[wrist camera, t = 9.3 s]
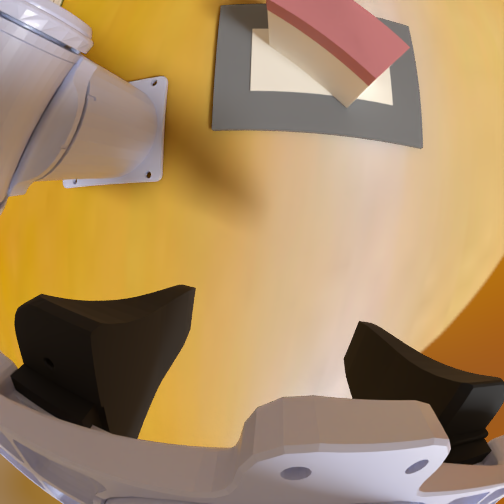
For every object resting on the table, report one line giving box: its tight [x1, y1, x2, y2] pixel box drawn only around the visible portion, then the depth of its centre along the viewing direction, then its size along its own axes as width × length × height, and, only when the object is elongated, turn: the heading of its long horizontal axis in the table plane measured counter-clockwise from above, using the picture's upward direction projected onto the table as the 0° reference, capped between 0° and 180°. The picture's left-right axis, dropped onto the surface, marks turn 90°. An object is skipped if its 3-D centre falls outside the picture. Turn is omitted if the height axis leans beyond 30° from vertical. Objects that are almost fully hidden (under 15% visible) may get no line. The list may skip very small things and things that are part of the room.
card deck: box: [266, 0, 410, 108], centre depth 12 cm, size 3×7×6 cm, turn 47°
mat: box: [212, 4, 423, 149], centre depth 16 cm, size 15×11×1 cm
